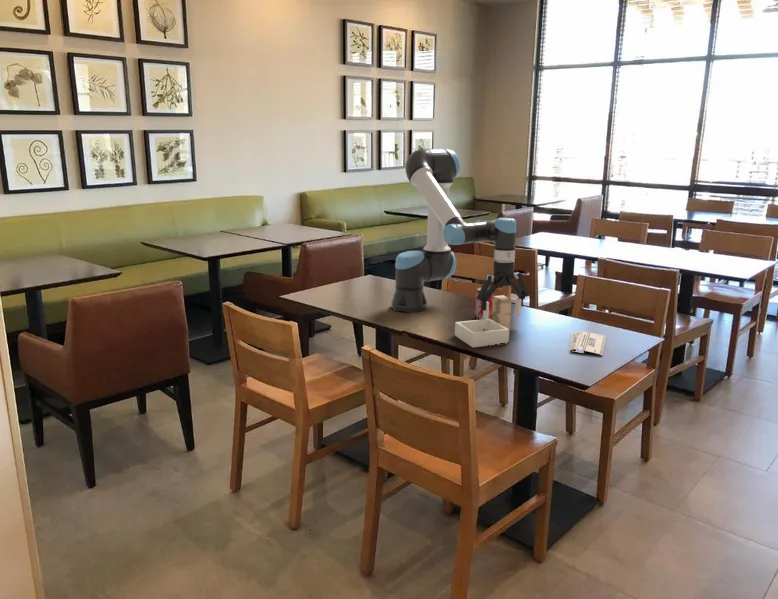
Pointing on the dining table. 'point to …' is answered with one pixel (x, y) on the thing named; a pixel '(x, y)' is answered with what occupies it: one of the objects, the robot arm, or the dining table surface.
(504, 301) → the light wood block
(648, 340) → the dining table surface
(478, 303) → the soda can
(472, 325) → the white slotted box
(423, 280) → the robot arm
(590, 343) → the newspaper
